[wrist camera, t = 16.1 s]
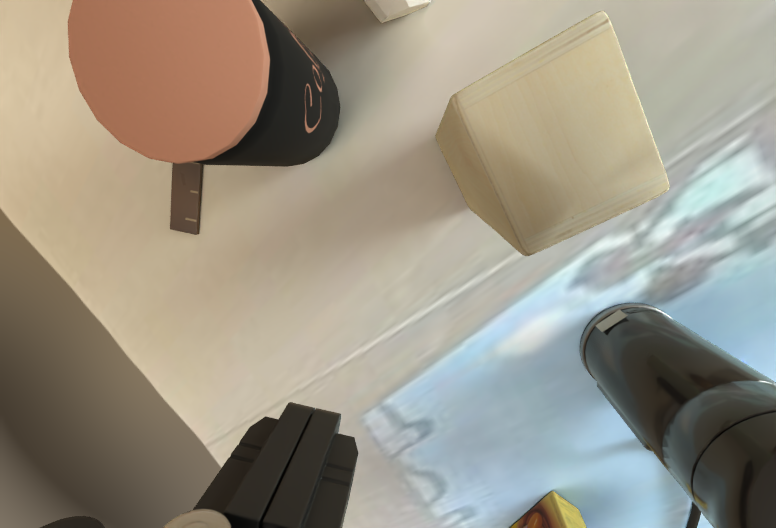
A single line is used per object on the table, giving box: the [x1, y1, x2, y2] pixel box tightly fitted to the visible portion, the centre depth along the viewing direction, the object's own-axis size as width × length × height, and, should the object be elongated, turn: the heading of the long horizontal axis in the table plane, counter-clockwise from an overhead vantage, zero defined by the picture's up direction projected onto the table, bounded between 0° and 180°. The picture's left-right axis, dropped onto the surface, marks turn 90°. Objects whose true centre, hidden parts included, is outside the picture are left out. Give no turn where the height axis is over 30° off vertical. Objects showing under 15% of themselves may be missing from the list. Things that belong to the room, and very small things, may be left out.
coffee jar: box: [68, 0, 340, 166], centre depth 28 cm, size 11×11×18 cm
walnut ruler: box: [170, 162, 203, 235], centre depth 39 cm, size 15×3×1 cm, turn 169°
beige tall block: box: [435, 11, 669, 256], centre depth 26 cm, size 8×7×21 cm
